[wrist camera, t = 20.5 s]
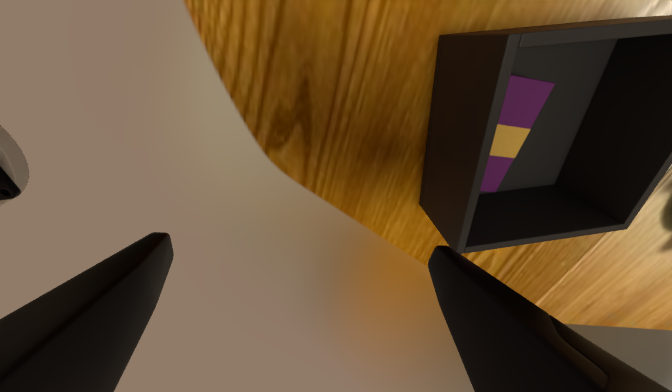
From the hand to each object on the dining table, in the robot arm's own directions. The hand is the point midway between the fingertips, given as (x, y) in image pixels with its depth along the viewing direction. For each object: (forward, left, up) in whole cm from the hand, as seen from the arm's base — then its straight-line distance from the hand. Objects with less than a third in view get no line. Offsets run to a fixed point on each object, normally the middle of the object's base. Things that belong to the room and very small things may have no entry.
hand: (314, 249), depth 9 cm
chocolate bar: (+13, -1, -12) cm, 18 cm away
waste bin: (+16, -1, -12) cm, 20 cm away
